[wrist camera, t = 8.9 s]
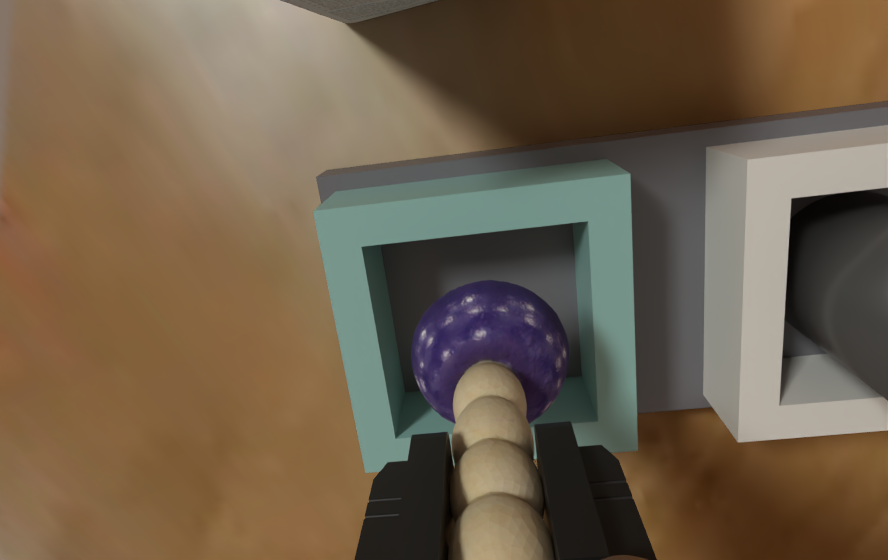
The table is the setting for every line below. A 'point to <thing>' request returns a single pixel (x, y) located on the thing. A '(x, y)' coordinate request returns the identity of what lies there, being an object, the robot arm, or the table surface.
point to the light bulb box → (356, 8)
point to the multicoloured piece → (634, 273)
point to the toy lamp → (493, 411)
